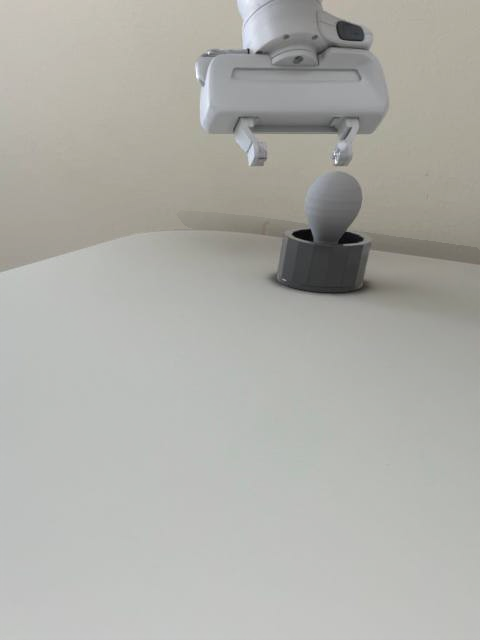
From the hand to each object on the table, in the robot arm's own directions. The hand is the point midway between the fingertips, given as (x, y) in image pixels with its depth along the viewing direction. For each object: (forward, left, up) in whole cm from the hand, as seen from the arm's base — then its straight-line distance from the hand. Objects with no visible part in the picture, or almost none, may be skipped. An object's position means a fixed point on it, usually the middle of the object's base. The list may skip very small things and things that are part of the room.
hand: (301, 162), depth 106 cm
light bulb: (-1, +10, -9) cm, 14 cm away
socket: (-1, +10, -10) cm, 14 cm away
